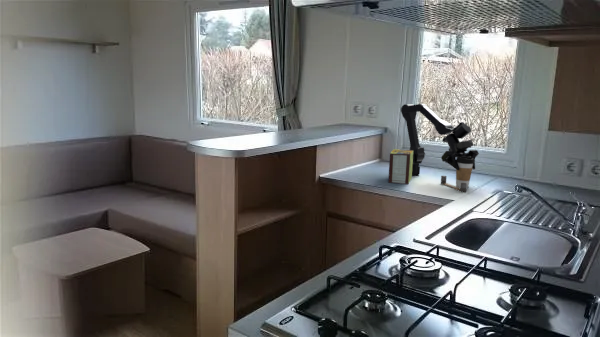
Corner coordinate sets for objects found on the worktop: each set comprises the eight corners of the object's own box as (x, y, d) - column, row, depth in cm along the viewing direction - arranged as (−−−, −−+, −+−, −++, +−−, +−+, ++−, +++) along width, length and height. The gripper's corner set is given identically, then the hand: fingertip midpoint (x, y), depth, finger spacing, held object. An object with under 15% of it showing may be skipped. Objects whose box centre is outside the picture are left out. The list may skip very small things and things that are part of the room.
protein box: (411, 178, 248) (413, 150, 245) (408, 184, 234) (410, 154, 231) (392, 176, 251) (393, 148, 249) (387, 182, 237) (389, 152, 234)
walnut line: (467, 192, 220) (467, 183, 219) (462, 192, 219) (463, 184, 218) (444, 183, 238) (444, 175, 238) (439, 183, 238) (440, 175, 237)
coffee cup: (451, 184, 235) (454, 155, 232) (467, 184, 235) (471, 155, 232) (456, 188, 227) (459, 158, 224) (473, 189, 227) (477, 158, 224)
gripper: (446, 134, 227) (459, 160, 218) (478, 134, 232) (491, 159, 224) (435, 148, 235) (447, 173, 227) (466, 147, 241) (478, 172, 233)
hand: (466, 169), depth 228 cm, fingers open, 9 cm apart
